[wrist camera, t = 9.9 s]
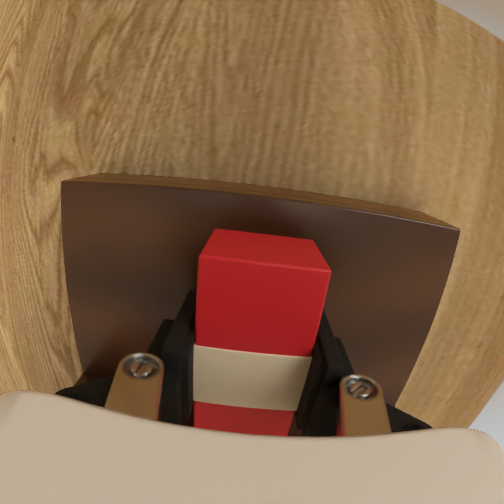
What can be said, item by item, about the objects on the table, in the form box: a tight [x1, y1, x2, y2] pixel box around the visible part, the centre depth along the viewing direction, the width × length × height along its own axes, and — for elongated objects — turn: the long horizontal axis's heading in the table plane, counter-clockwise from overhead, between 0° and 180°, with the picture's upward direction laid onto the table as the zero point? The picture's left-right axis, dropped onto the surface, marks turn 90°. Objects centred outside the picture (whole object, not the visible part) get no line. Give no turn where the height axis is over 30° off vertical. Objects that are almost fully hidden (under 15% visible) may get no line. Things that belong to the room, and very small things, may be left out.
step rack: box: [61, 173, 460, 437], centre depth 14 cm, size 21×18×10 cm
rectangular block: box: [193, 229, 331, 436], centre depth 11 cm, size 8×4×3 cm, turn 173°
